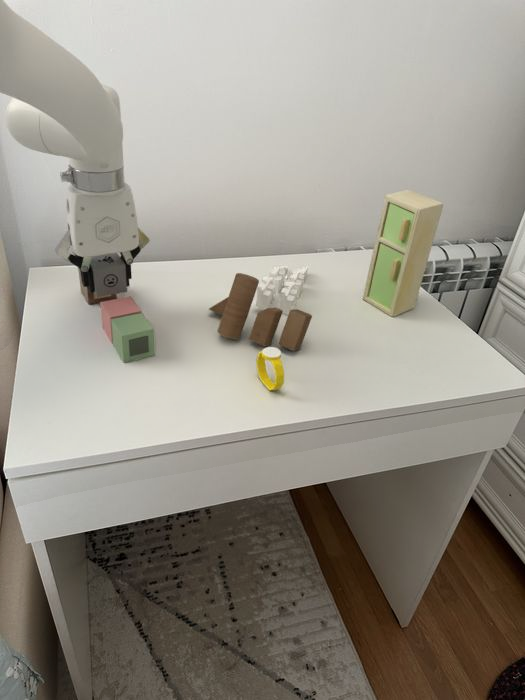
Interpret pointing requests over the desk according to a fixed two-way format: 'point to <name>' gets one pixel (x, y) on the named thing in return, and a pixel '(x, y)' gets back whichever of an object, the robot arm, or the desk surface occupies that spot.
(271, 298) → the modular blocks
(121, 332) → the green cube
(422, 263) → the toy refrigerator
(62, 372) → the desk surface
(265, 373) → the watch
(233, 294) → the wooden block set
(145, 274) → the desk surface
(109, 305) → the plain pink block
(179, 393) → the desk surface
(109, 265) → the dice cube
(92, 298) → the brown cube
